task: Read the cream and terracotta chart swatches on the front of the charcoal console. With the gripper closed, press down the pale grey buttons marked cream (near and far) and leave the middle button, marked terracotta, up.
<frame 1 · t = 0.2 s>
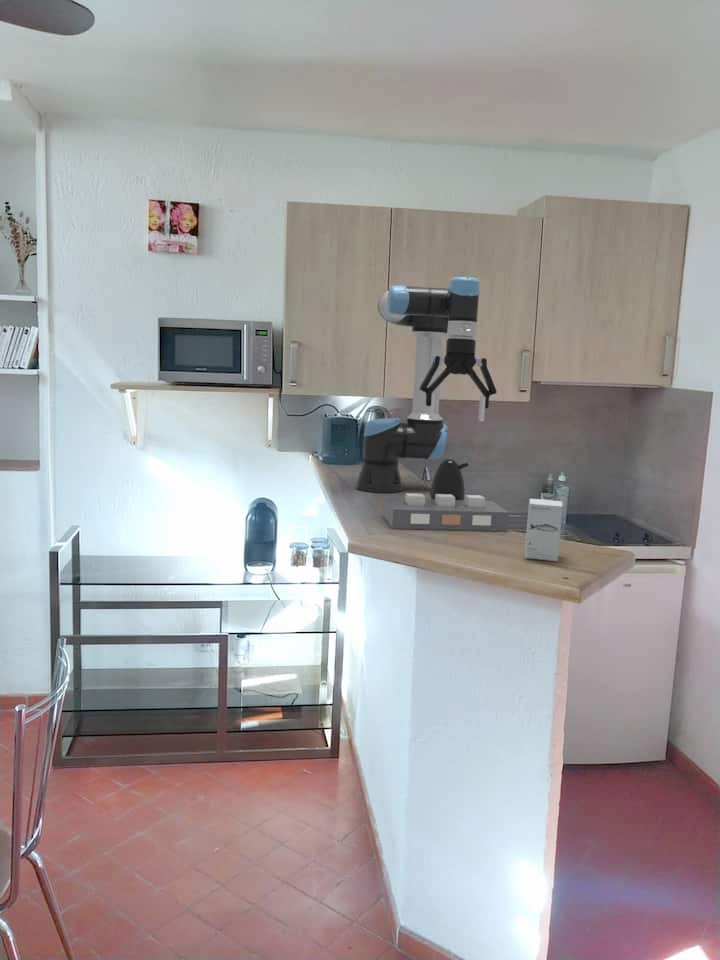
hand: (456, 420, 209), 27 cm above the table, fingers open, 13 cm apart
console: (443, 523, 210), on the table
supplement box: (541, 557, 178), on the table
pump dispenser: (447, 511, 228), on the table
button b: (444, 503, 209), point 5 cm above the table, slide at 0.0 cm
button c: (474, 504, 210), point 5 cm above the table, slide at 0.0 cm
button a: (414, 502, 208), point 5 cm above the table, slide at 0.0 cm
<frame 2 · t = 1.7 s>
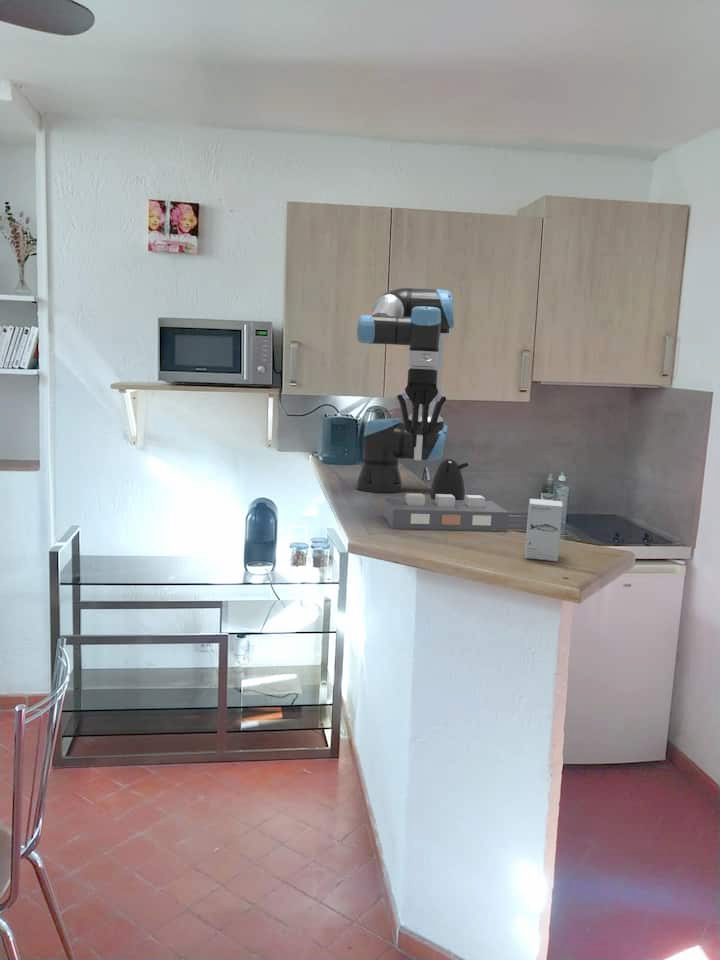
hand: (417, 459, 206), 17 cm above the table, fingers closed
nothing on the table moved.
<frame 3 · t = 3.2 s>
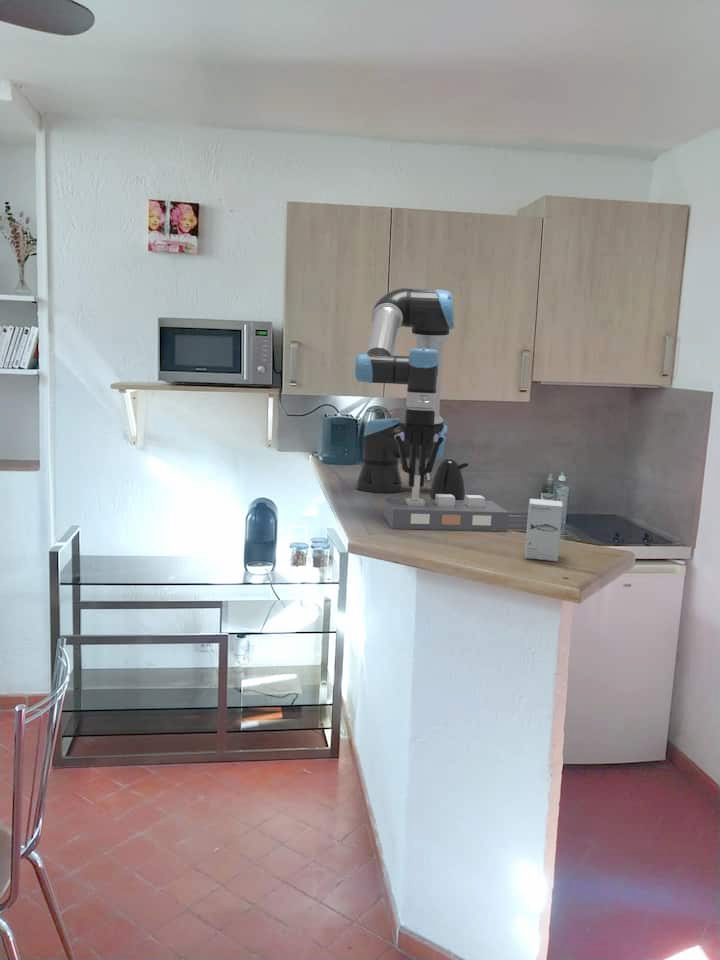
hand: (415, 499, 208), 6 cm above the table, fingers closed
button a: (414, 507, 208), point 4 cm above the table, slide at 1.4 cm, touching gripper
everything else where it was.
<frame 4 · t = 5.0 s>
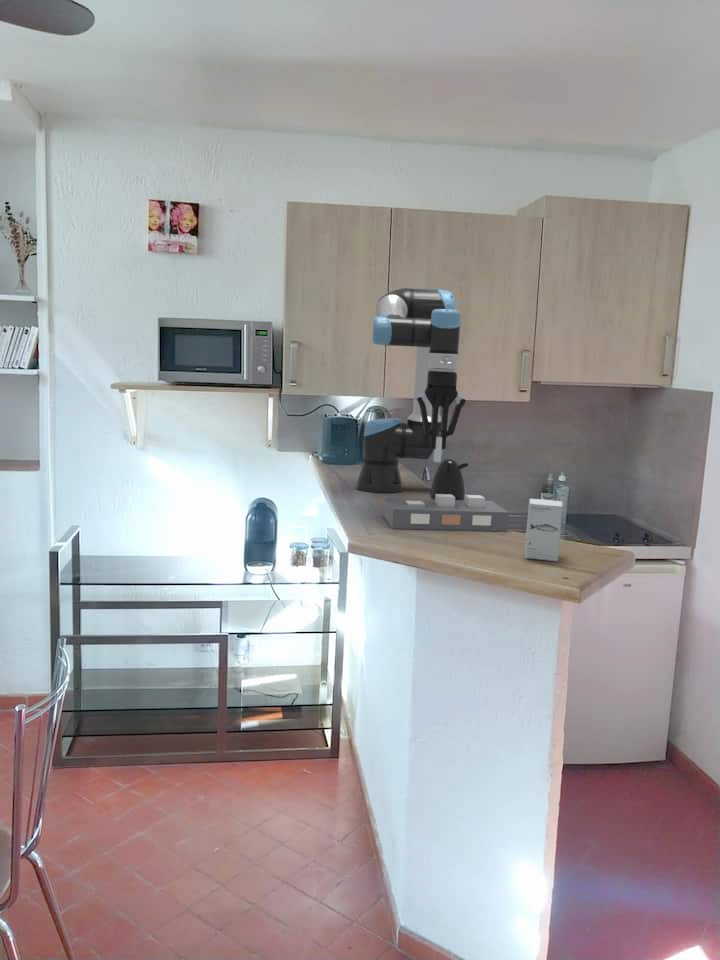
hand: (436, 461, 207), 17 cm above the table, fingers closed
button a: (414, 510, 208), point 3 cm above the table, slide at 2.0 cm
everything else where it was.
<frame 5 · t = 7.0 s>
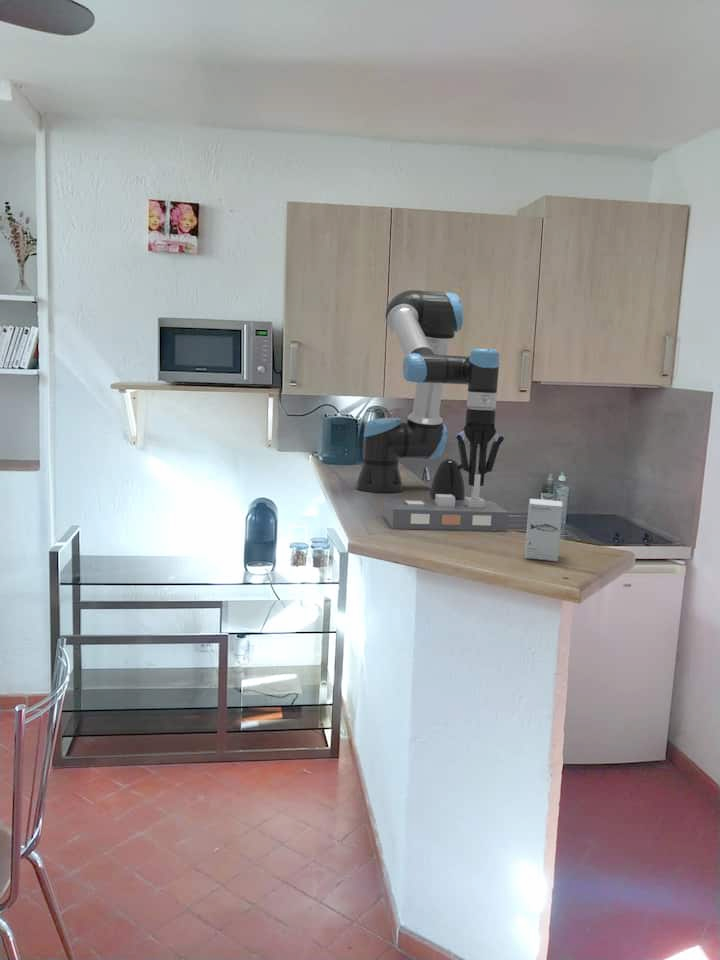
hand: (475, 497, 210), 7 cm above the table, fingers closed
button c: (474, 506, 210), point 5 cm above the table, slide at 0.6 cm, touching gripper
everything else where it was.
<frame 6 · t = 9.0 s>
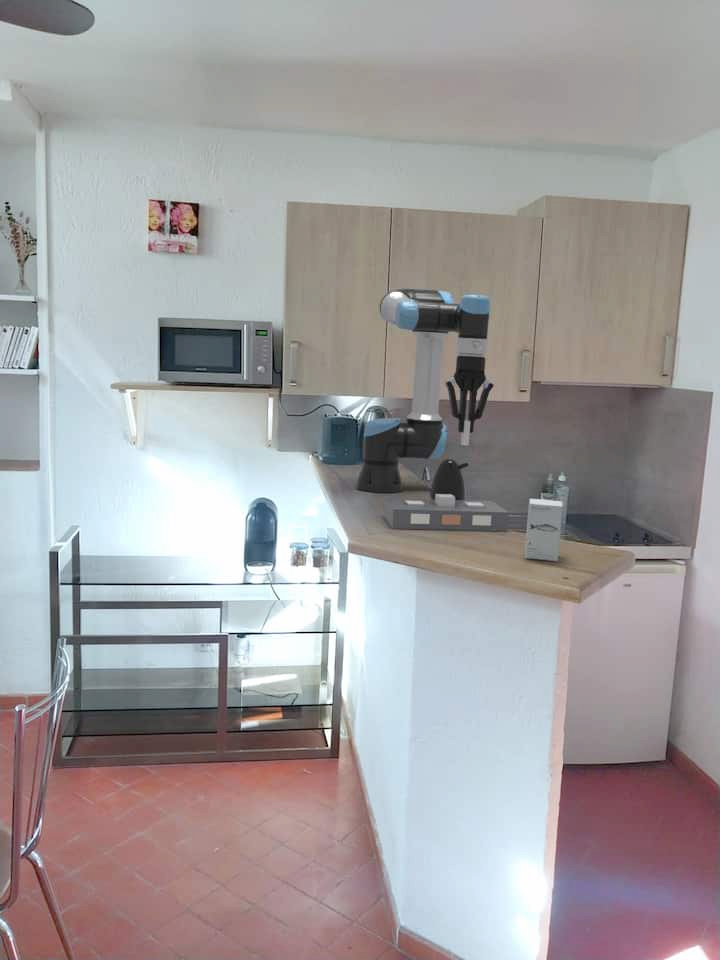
hand: (464, 444, 212), 21 cm above the table, fingers closed
button c: (473, 511, 210), point 3 cm above the table, slide at 2.0 cm
everything else where it was.
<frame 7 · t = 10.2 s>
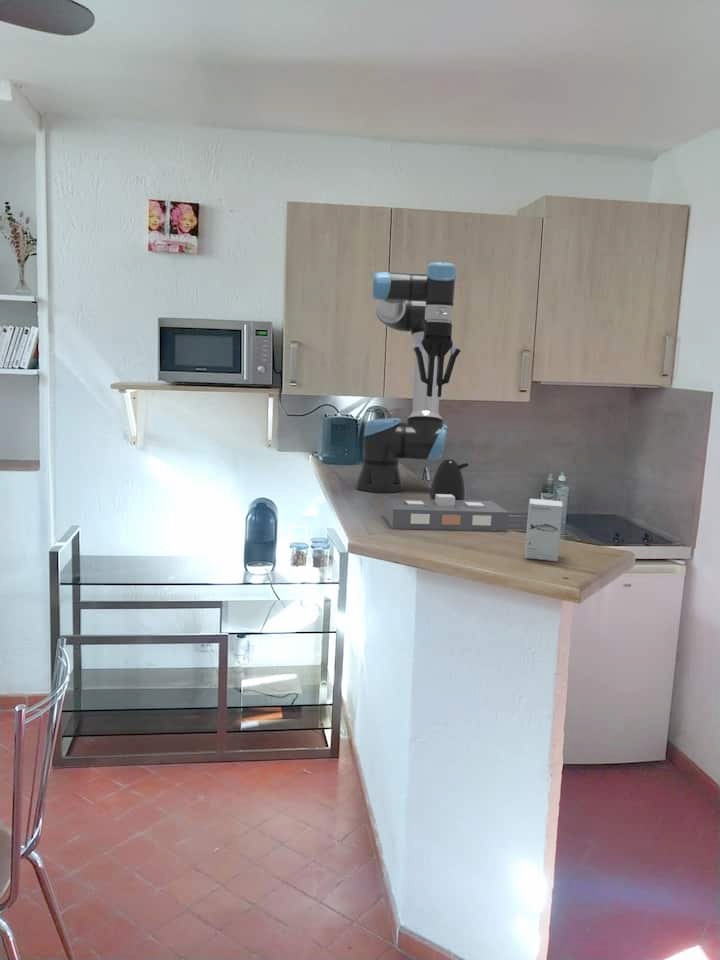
hand: (433, 408, 218), 29 cm above the table, fingers closed
nothing on the table moved.
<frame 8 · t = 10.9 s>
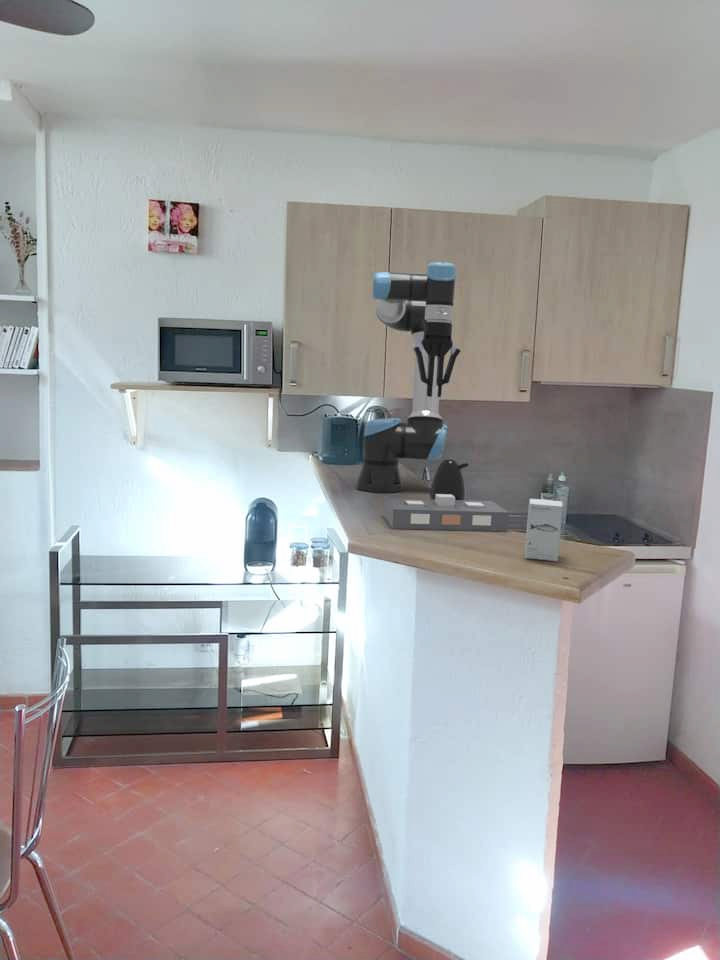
hand: (433, 408, 218), 29 cm above the table, fingers closed
nothing on the table moved.
at the end: button a slide at 2.0 cm; button b slide at 0.0 cm; button c slide at 2.0 cm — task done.
